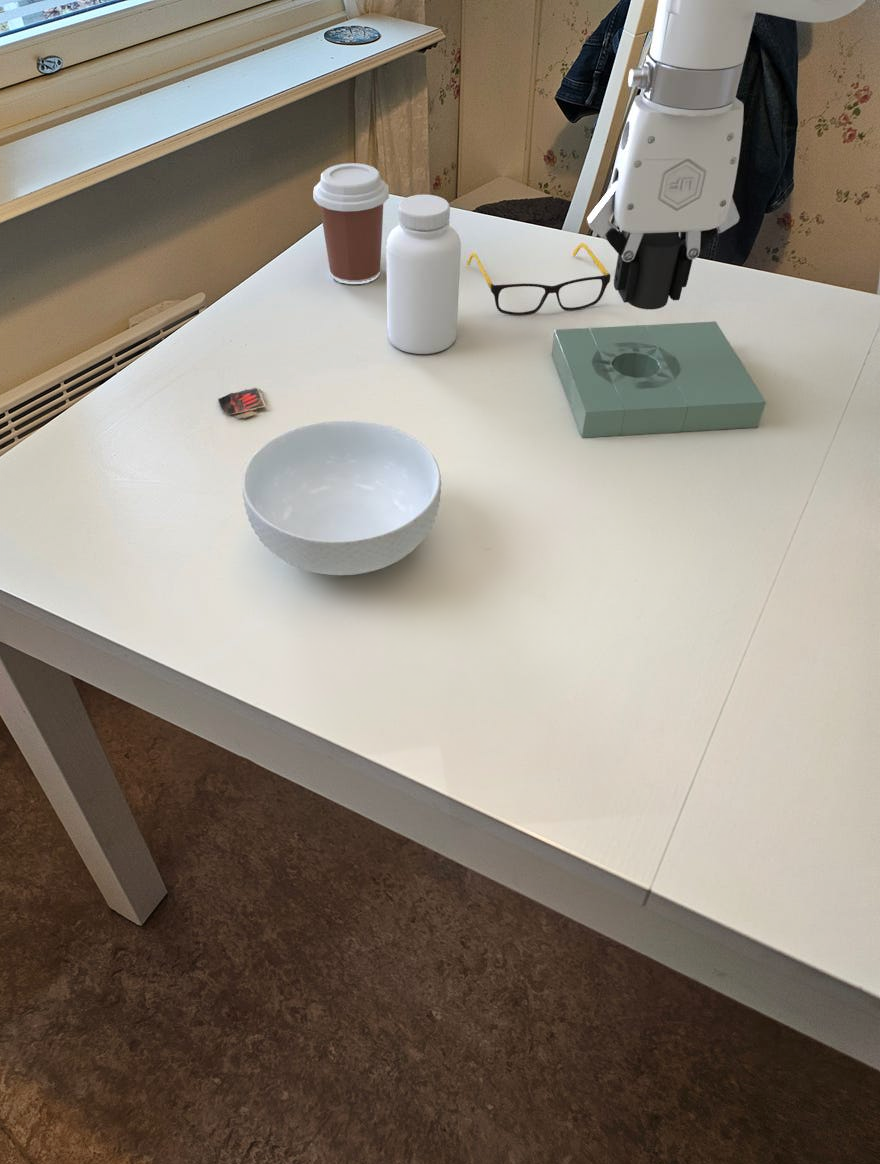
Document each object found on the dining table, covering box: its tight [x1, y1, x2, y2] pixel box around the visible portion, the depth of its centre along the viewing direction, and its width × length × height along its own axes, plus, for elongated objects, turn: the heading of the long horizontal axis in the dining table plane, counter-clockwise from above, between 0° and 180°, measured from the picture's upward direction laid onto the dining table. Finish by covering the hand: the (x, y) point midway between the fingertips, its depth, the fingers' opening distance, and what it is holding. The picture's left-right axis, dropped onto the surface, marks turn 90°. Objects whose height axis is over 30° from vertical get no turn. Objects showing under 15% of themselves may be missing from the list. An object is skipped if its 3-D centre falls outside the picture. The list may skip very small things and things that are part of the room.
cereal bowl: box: [241, 419, 442, 576], centre depth 77 cm, size 17×17×7 cm
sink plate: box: [551, 321, 767, 439], centre depth 94 cm, size 18×16×3 cm
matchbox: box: [217, 387, 266, 420], centre depth 94 cm, size 5×5×1 cm
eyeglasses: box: [466, 243, 611, 316], centre depth 110 cm, size 14×14×4 cm
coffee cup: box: [312, 162, 390, 282], centre depth 110 cm, size 9×9×12 cm
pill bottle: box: [385, 194, 462, 355], centre depth 98 cm, size 8×8×15 cm
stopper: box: [627, 232, 681, 310], centre depth 86 cm, size 4×4×6 cm
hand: (648, 293), depth 87 cm, fingers closed on stopper, 4 cm apart
